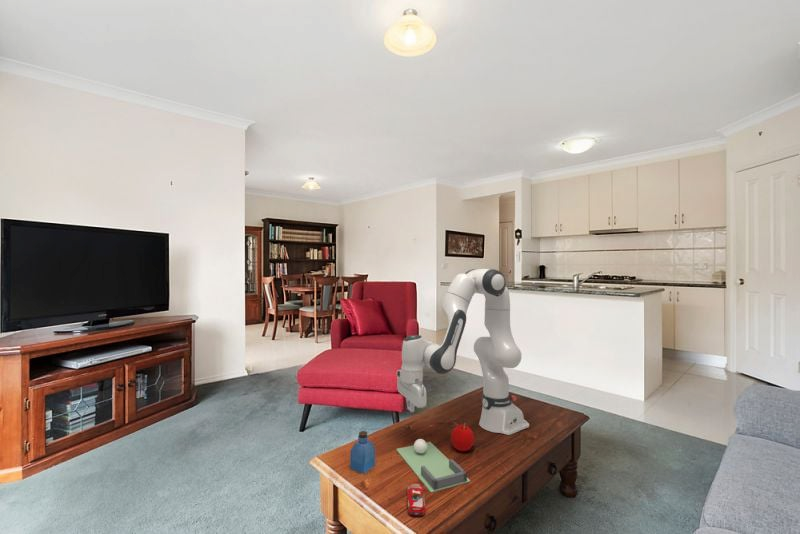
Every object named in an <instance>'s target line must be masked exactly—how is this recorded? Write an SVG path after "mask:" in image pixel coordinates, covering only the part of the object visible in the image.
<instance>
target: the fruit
mask: <svg viewBox="0 0 800 534" xmlns="http://www.w3.org/2000/svg"><path fill="white" fill-rule="evenodd" d="M450 440H451V443H452V446H453V448H454V449H456V450H457V451H459V452H466V451H469V450H471V448H472V447H473V445H474V443H475V435H474V432H473V430H472V429H471V428H470V427H469V426H468V425H466V423H464V424H459V425H457V426H455V427H454V428H453V430H452V431H451V434H450Z"/></svg>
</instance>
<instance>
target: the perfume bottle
mask: <svg viewBox="0 0 800 534" xmlns="http://www.w3.org/2000/svg"><path fill="white" fill-rule="evenodd" d="M368 434H369V433H368V431H365V430H361V431H359V432H358V436H357V439H358V440H357V441H356V442H355V443H354V444H353V446H352V447H351V450H350V456H349V457H350V459H349V460H350V461H349V463H350V465H349V467H350V468H349V469H352V470H354V471H357V472H359V473H361V474H363V475H365V474H366V473H367V472H369V471H370V470H371V469H372V468H373V467H375V466H376V447H375V446H374V443H373V442H372V441H370V440H369V436H368Z"/></svg>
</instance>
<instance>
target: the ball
mask: <svg viewBox="0 0 800 534" xmlns="http://www.w3.org/2000/svg"><path fill="white" fill-rule="evenodd" d="M413 445H414V449H415V451H416V452H417V453H420V454H422V453H424V452H425V451H426V449H427V443H426V441H425V440H424V439H423V438H418V439H416V440H415V441H414V443H413Z"/></svg>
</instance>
